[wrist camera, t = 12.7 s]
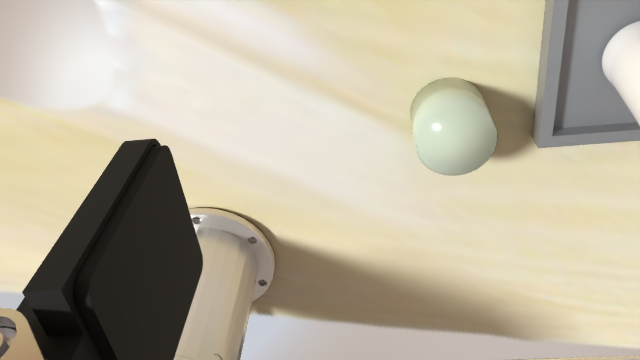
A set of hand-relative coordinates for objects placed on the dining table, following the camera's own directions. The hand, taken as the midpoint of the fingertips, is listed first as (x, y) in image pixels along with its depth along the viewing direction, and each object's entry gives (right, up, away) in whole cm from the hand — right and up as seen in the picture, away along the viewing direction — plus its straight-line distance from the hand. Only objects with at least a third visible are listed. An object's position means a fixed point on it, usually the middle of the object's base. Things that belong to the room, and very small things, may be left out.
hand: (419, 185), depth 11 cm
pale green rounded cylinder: (+9, +6, +36) cm, 37 cm away
